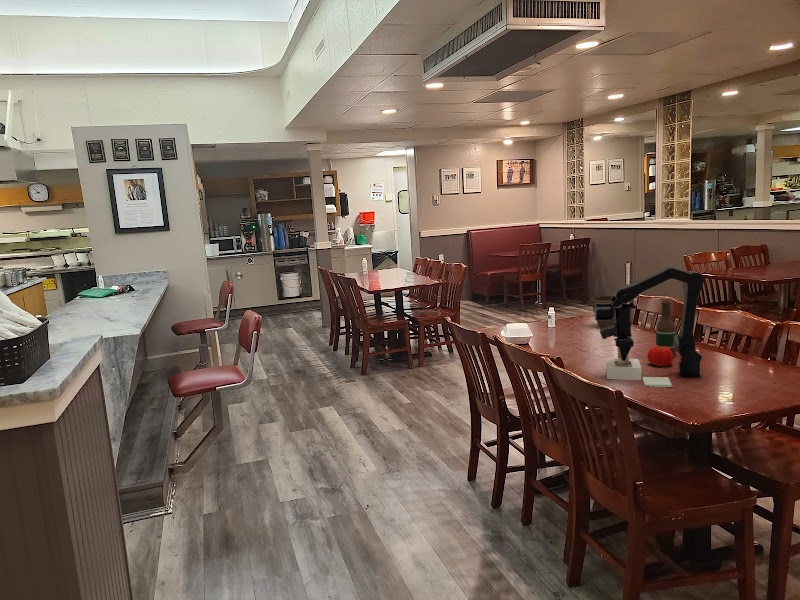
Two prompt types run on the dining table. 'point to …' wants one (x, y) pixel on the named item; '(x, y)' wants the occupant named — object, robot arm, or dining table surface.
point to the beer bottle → (666, 328)
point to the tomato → (660, 356)
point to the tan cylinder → (621, 359)
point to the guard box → (623, 370)
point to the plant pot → (603, 299)
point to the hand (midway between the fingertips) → (623, 359)
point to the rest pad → (657, 381)
